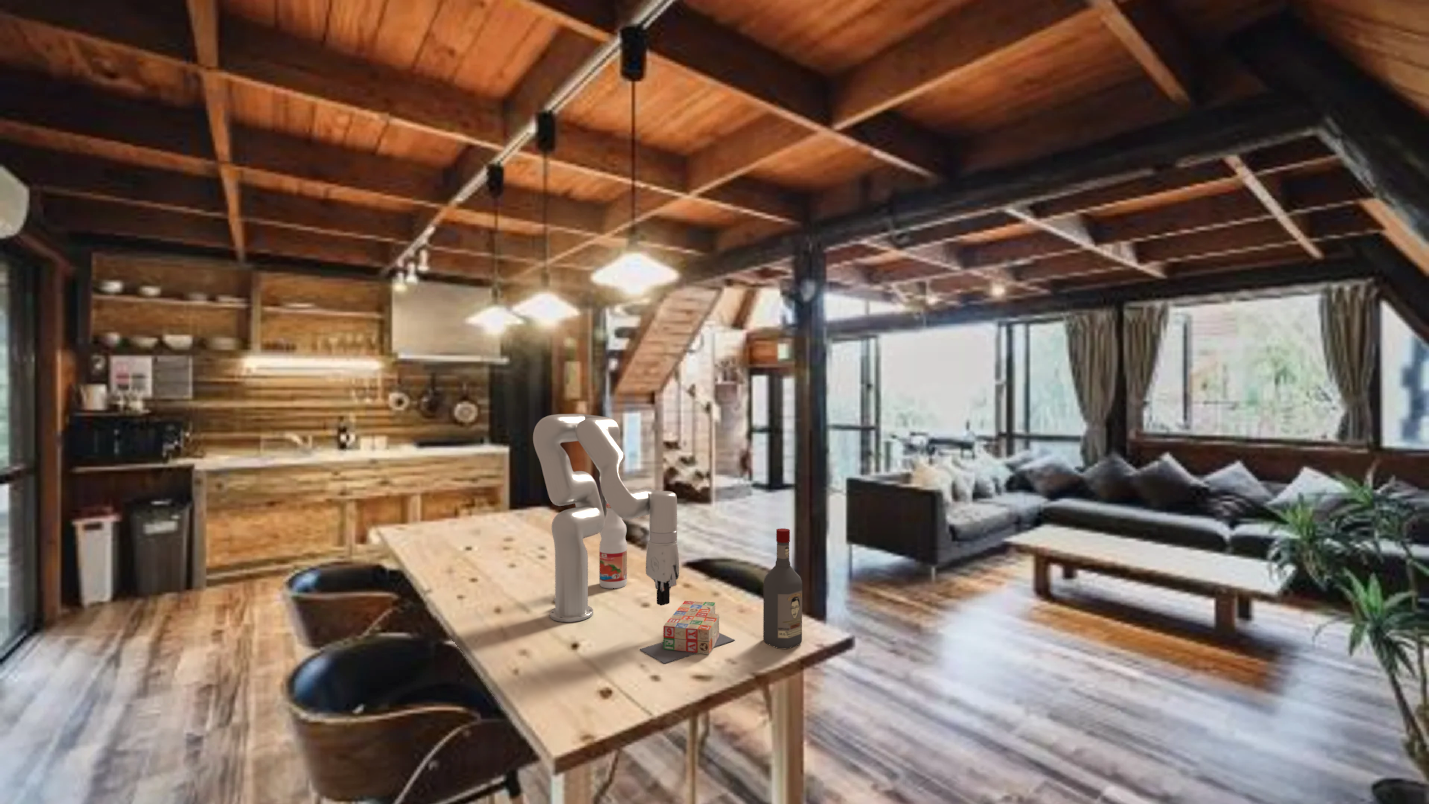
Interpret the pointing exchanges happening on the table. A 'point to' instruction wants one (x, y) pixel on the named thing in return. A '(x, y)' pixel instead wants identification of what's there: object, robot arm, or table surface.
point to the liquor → (782, 599)
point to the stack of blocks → (692, 628)
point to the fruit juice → (613, 552)
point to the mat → (670, 655)
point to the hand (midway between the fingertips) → (663, 603)
